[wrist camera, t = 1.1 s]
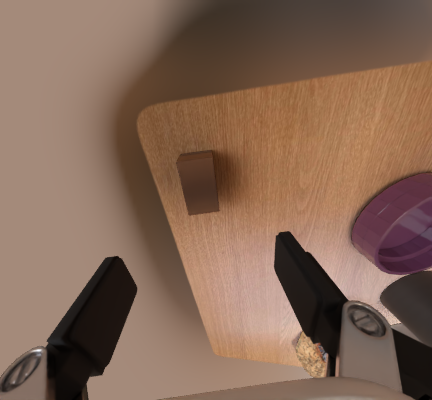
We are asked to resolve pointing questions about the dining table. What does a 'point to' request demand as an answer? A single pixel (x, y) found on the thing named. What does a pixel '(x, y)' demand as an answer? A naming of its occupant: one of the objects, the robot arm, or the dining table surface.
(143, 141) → the dining table surface
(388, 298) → the vase
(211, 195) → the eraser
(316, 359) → the beige rock
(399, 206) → the bowl
